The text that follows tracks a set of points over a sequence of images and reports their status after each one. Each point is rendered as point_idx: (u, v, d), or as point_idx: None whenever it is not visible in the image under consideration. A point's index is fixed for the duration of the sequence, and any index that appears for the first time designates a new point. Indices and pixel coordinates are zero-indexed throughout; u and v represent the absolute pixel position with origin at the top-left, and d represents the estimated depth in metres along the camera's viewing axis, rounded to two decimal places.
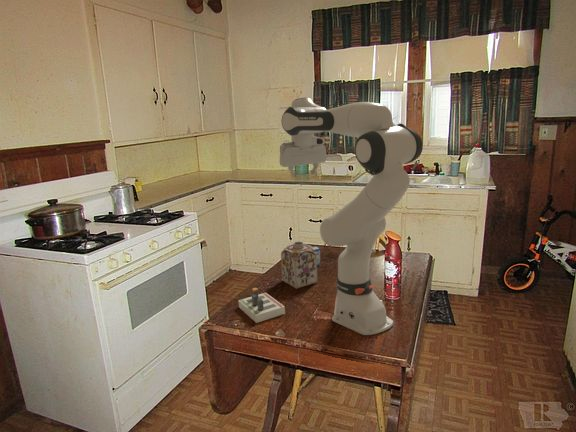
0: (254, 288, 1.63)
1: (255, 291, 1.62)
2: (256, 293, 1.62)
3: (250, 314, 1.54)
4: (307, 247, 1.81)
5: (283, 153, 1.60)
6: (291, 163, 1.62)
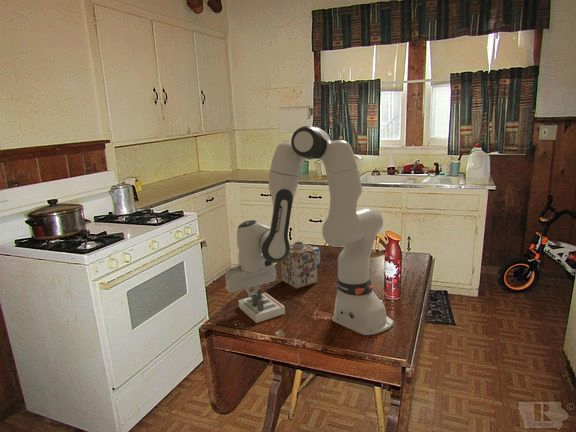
0: None
1: (259, 290, 1.62)
2: (260, 292, 1.63)
3: (250, 314, 1.54)
4: (307, 247, 1.81)
5: (228, 279, 1.54)
6: (238, 288, 1.56)
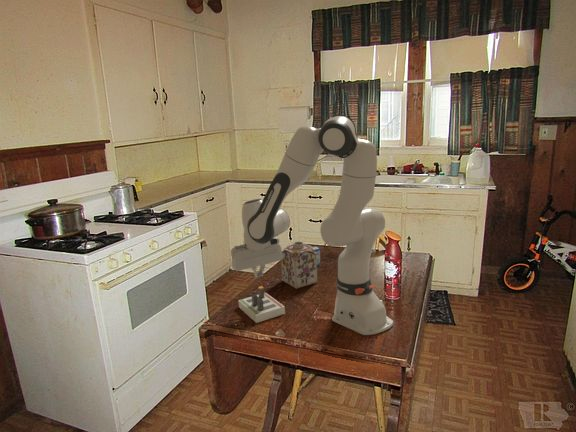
0: (260, 286, 1.64)
1: (261, 289, 1.63)
2: (262, 291, 1.63)
3: (250, 314, 1.54)
4: (307, 247, 1.81)
5: (234, 257, 1.54)
6: (244, 266, 1.56)
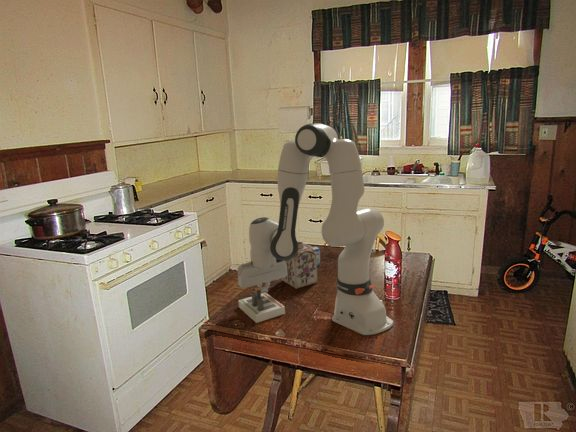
0: (257, 287, 1.63)
1: (258, 290, 1.62)
2: (259, 292, 1.63)
3: (250, 314, 1.54)
4: (307, 247, 1.81)
5: (241, 275, 1.57)
6: (250, 283, 1.59)
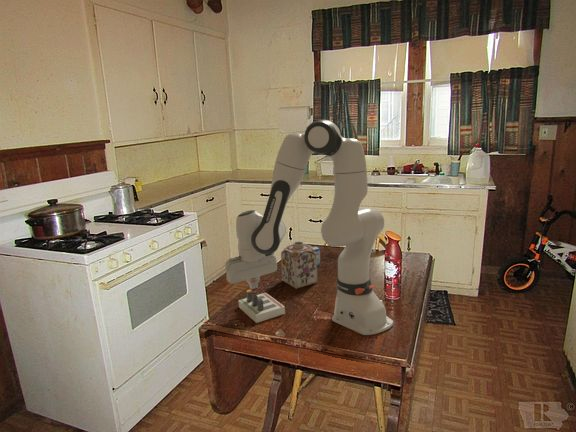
0: (248, 290, 1.61)
1: (249, 293, 1.60)
2: (250, 295, 1.61)
3: (250, 314, 1.54)
4: (307, 247, 1.81)
5: (229, 270, 1.53)
6: (239, 278, 1.55)
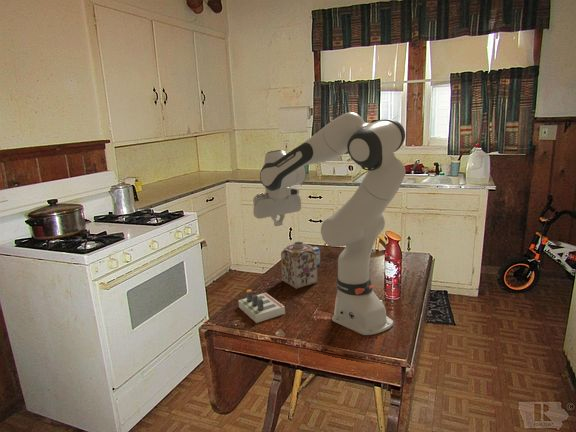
0: (248, 290, 1.61)
1: (249, 293, 1.60)
2: (250, 295, 1.61)
3: (250, 314, 1.54)
4: (307, 247, 1.81)
5: (256, 205, 1.60)
6: (265, 214, 1.62)
